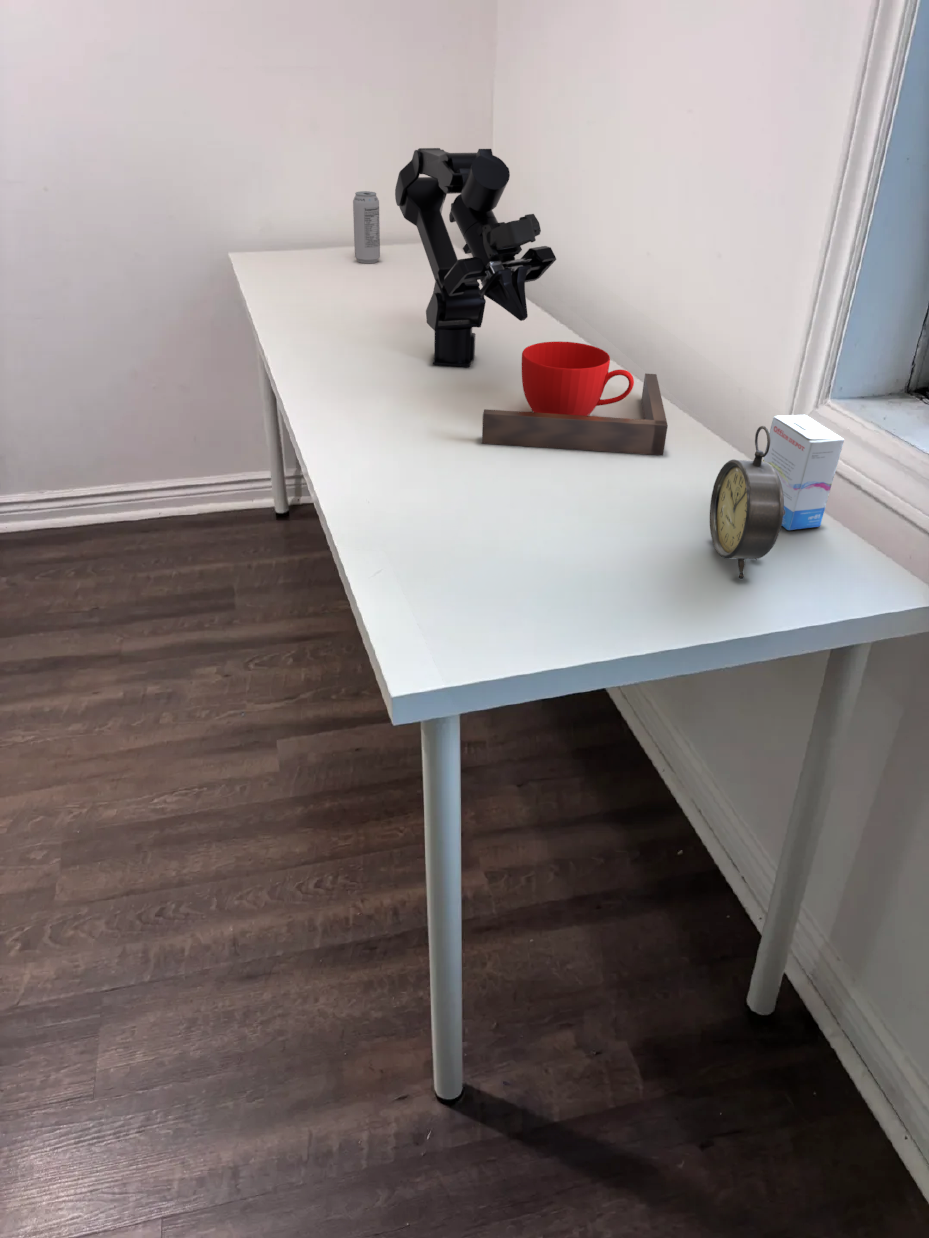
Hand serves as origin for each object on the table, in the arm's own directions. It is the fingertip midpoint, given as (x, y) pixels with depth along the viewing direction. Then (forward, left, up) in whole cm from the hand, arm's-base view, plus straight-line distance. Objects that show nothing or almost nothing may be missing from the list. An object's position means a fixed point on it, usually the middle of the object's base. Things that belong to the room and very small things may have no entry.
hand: (524, 319), depth 145 cm
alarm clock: (+28, -48, -13) cm, 57 cm away
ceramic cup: (+9, -8, -13) cm, 18 cm away
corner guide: (+8, -8, -13) cm, 17 cm away
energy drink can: (-40, +87, -13) cm, 96 cm away
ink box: (+36, -35, -13) cm, 52 cm away
